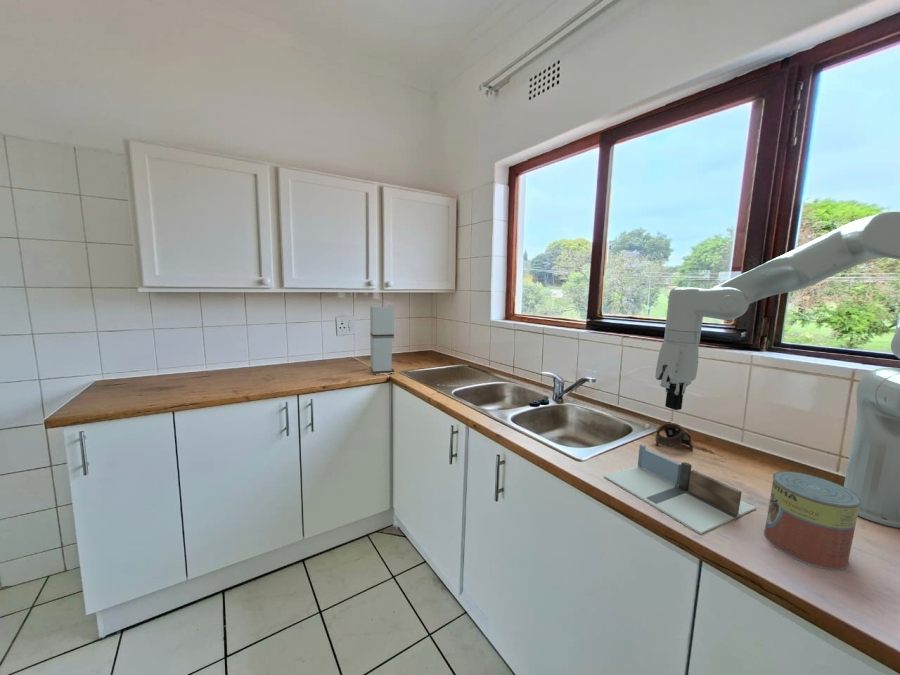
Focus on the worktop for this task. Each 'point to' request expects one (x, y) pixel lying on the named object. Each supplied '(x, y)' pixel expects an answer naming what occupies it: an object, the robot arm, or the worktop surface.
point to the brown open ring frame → (673, 435)
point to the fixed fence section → (709, 489)
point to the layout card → (675, 500)
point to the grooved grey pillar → (381, 338)
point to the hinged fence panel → (659, 465)
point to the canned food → (812, 519)
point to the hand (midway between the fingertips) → (673, 408)
